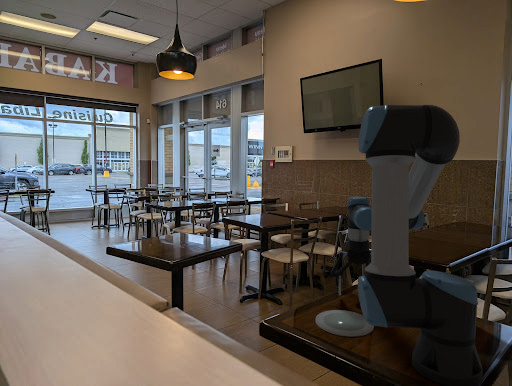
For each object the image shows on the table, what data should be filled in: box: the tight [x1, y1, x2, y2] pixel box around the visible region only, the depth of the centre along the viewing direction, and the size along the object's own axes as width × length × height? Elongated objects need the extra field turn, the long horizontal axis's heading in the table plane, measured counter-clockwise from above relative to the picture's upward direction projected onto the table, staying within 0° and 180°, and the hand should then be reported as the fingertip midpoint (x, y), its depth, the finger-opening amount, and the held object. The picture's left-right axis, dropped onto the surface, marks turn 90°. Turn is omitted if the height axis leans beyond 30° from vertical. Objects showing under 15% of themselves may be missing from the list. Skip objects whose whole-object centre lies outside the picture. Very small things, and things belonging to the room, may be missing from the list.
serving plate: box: [315, 309, 375, 338], centre depth 112 cm, size 18×18×1 cm
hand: (358, 295), depth 131 cm, fingers open, 13 cm apart
